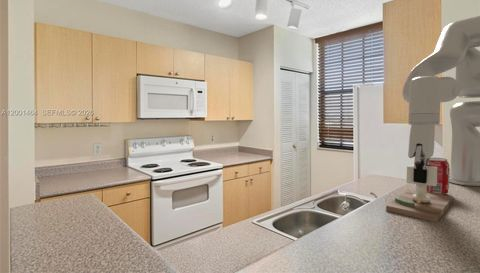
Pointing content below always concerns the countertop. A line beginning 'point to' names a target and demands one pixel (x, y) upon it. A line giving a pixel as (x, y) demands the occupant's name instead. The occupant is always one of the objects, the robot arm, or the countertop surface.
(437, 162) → the soda can
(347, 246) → the countertop surface
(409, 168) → the knob
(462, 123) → the robot arm
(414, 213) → the dial board
